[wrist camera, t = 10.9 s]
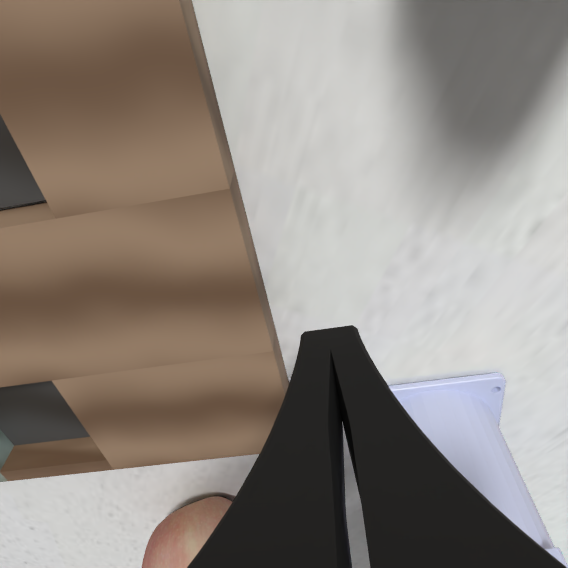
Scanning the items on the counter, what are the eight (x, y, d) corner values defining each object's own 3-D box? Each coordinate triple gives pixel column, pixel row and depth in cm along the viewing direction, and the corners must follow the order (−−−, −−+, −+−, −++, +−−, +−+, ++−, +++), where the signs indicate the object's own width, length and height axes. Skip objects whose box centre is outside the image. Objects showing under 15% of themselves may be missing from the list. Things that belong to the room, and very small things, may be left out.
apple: (163, 528, 36) (136, 654, 29) (151, 473, 31) (116, 607, 25) (263, 530, 36) (258, 656, 29) (265, 476, 32) (260, 610, 25)
